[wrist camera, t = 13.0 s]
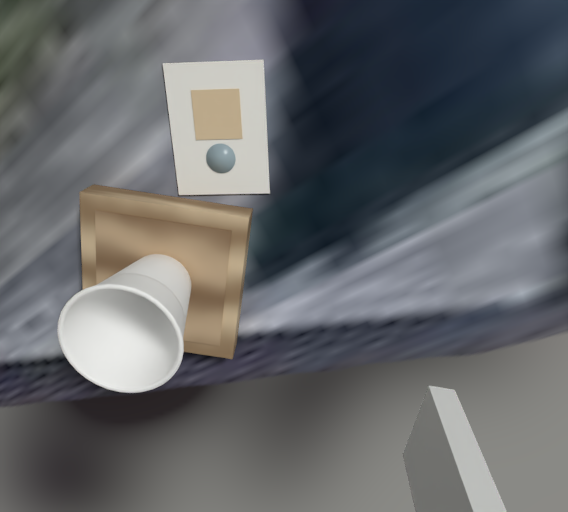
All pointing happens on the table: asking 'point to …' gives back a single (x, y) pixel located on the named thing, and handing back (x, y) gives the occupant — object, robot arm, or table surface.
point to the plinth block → (173, 253)
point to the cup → (129, 326)
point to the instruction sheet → (218, 126)
